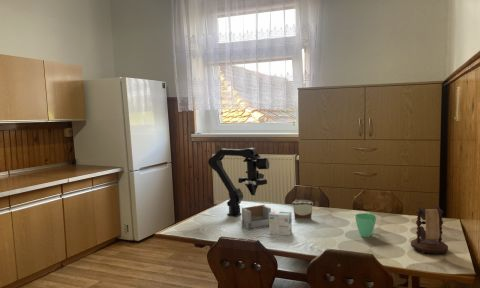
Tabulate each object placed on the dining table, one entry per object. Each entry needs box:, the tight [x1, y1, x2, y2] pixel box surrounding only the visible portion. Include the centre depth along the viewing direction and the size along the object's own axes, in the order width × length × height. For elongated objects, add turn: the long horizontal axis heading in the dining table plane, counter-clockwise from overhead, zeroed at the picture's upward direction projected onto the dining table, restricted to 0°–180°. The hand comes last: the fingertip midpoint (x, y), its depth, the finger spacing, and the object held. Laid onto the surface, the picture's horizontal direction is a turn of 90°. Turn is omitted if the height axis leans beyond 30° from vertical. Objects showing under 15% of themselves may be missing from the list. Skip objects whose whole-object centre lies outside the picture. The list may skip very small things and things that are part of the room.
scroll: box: [410, 205, 449, 254], centre depth 166 cm, size 15×15×20 cm
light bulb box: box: [268, 210, 293, 236], centre depth 194 cm, size 11×7×11 cm, turn 71°
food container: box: [291, 199, 315, 220], centre depth 220 cm, size 12×6×10 cm, turn 84°
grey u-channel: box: [241, 205, 272, 231], centre depth 205 cm, size 6×16×10 cm, turn 118°
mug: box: [355, 212, 377, 238], centre depth 189 cm, size 15×10×10 cm
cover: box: [241, 204, 266, 221], centre depth 209 cm, size 1×14×10 cm, turn 117°
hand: (253, 195), depth 223 cm, fingers closed
